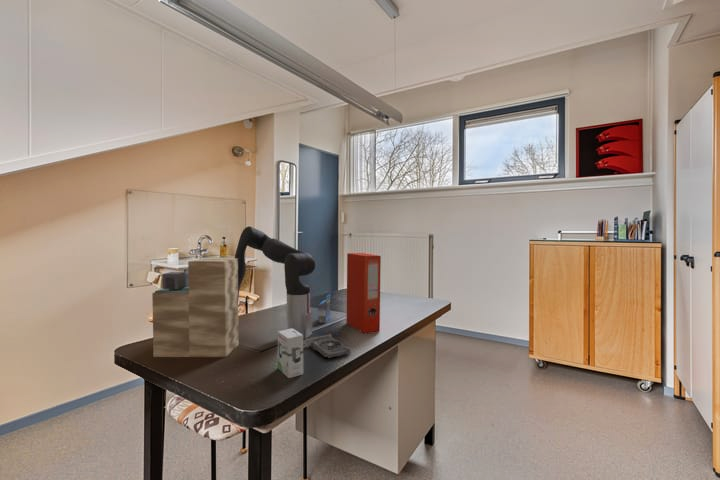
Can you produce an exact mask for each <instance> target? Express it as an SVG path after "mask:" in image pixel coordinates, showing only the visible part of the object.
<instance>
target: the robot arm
mask: <svg viewBox="0 0 720 480" xmlns="http://www.w3.org/2000/svg"><path fill="white" fill-rule="evenodd" d="M247 247H249V248H251V249H254V250H258V251H260V252H262V254H263V255H264V256H265V257H266V258H268V259H269V260H271V261H272V262H276V263H279V264H283V265H284V266H283V268H284V269H283V270H284V284H285V285H284V286H285V289H286V330H287V329H291V328H293V329H294V330H296V331H298V332H299V333H301V334H302V335H303V340H305V339H309V337H310V336H312V335H313V311H312V310H311V287H310V285H308V284H306V283H302V282H301V281H300V277H302V276H308V275H311V274H312V273H313V272H314V271H315V268H316V261H315V259H314V257H313V256H312V254H310V253H309V252H306V251H303V250H299V249H296V248H294V247H292V246H291V245H288V244H287V243H284V242H283V241H281V240H279V239H277V238H272V237H269V236H268V235H267V234H266V233H265V232H263V231H261V230H259V229H257V228H255V227H252V226H246V227H245V228H244V229H243V230H242V232H241V234H240V236H239V239H238V244H237V247H236V249H235V250H236V251H235V255H234V258H238V299H239V298H240V297H239V296H240V290H241V285H242V283H243V280H244V278H245V276H246V272H247V268H246V267H247V265H246V256H245V253H246V250H247Z"/></svg>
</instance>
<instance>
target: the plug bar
mask: <svg viewBox="0 0 720 480" xmlns="http://www.w3.org/2000/svg"><path fill="white" fill-rule="evenodd" d="M161 277H162V289H179V288H182V287H185V286H189V282H188V270H186V271H169V272H165V273H162V276H161Z"/></svg>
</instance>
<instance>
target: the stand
mask: <svg viewBox="0 0 720 480" xmlns="http://www.w3.org/2000/svg"><path fill="white" fill-rule="evenodd" d="M187 265H188V267H187V269H188V270H187V271H188V282H189V284H188V285H186V286H185V287H182V288H179V289H163V288H160V289H158V290H155V291H154V292H152V294H151V295H152V296H151V297H152V300H151V301H152V344H153V345H152V346H153V347H152V348H153V350H152V352H153V353H152V354H153V358H226V357H228V355H229V354H230V353H232V351H233V350H234V349H236V348H237V347H238V346H239V343H240V342H239V334H240V332H239V331H240V330H239V329H240V328H239V298H238V258H235V257H231V258H230V257H229V258H228V257H227V258H226V257H225V258H224V257H222V258H220V257H218V258H217V257H216V258H214V257H209V258H208V257H205V258H204V257H203V258H200V259H194V260H190V261H189V260H188V261H187Z"/></svg>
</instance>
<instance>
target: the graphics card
mask: <svg viewBox="0 0 720 480" xmlns="http://www.w3.org/2000/svg"><path fill="white" fill-rule="evenodd" d="M306 348H312V349H313V351H316V352H319V353H320V354H321V355H322V356H323V357H324V358H326V357H328V359H331V358H334V357H340V356H343V355H346V354H350V353H351V348H350V347H348V346H347V345H345V344H344V343H342V342H340V341H339V340H338V339H336V338H334V337H333V336H332V334H331V333H329V334H326V335H320V336H315V337H310V338H306V339H303V349H306Z"/></svg>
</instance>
